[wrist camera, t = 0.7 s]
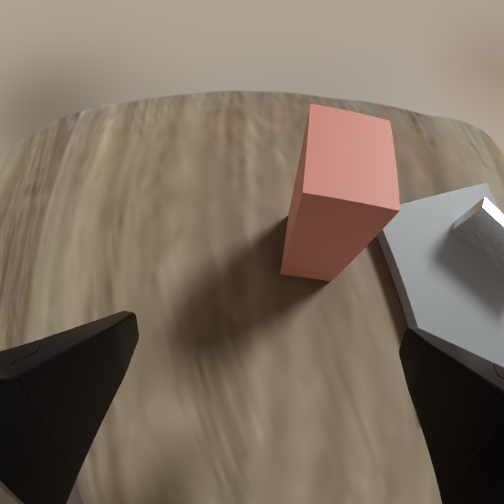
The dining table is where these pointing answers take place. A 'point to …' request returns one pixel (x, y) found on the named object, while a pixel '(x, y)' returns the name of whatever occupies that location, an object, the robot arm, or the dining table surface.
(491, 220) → the bookend
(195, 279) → the dining table surface
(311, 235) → the boxed book
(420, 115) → the dining table surface
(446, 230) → the shelf board
